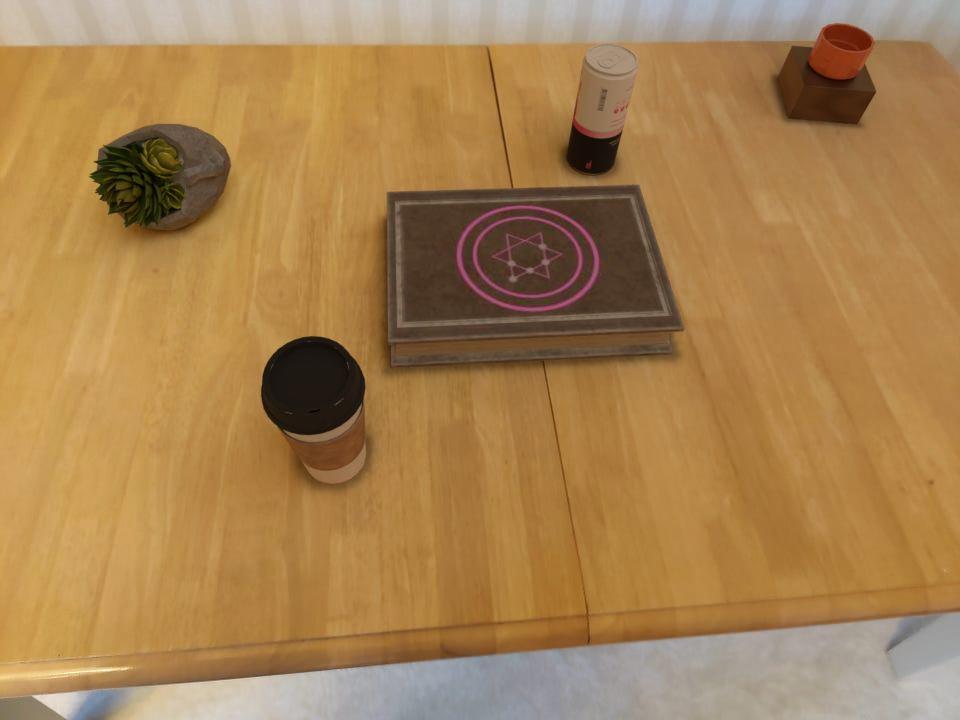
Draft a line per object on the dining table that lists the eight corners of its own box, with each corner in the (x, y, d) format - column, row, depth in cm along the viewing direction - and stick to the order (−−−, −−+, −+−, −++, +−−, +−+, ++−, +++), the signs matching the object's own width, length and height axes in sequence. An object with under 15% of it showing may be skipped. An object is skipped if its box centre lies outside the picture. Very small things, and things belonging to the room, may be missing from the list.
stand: (842, 84, 103) (860, 50, 98) (856, 125, 97) (876, 91, 93) (776, 79, 103) (791, 45, 98) (787, 119, 97) (804, 85, 93)
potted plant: (257, 170, 82) (192, 228, 71) (196, 217, 89) (128, 276, 77) (182, 84, 77) (100, 131, 66) (124, 140, 84) (40, 192, 72)
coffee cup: (297, 506, 62) (258, 430, 50) (287, 428, 66) (249, 340, 54) (386, 485, 63) (370, 405, 51) (370, 410, 68) (352, 320, 56)
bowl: (851, 55, 97) (867, 25, 94) (863, 84, 93) (880, 54, 90) (802, 51, 98) (816, 21, 94) (811, 80, 94) (826, 50, 90)
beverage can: (556, 160, 91) (572, 56, 78) (586, 138, 93) (607, 35, 81) (593, 184, 88) (616, 81, 76) (623, 161, 91) (651, 59, 78)
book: (391, 368, 71) (387, 341, 67) (389, 219, 83) (386, 188, 79) (671, 355, 73) (684, 327, 69) (629, 211, 85) (638, 181, 81)
